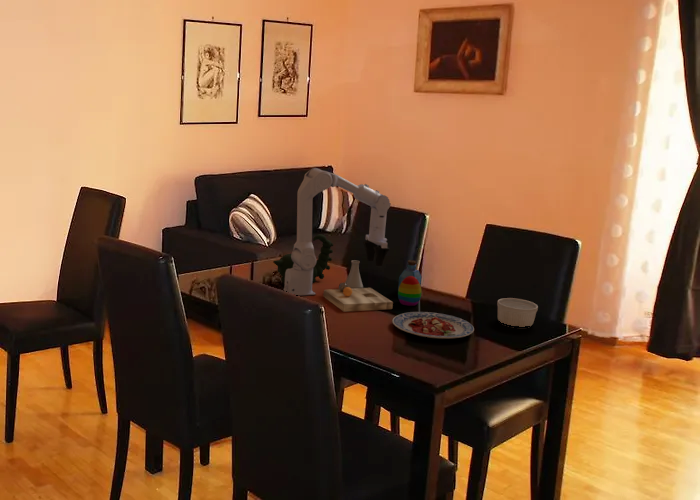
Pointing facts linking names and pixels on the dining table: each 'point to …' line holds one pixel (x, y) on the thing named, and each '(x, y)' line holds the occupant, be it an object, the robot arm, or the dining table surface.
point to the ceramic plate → (433, 325)
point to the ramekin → (516, 312)
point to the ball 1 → (342, 286)
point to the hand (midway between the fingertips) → (374, 263)
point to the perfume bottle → (410, 272)
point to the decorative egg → (409, 291)
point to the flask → (354, 276)
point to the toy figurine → (321, 263)
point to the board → (358, 300)
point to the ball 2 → (347, 291)
